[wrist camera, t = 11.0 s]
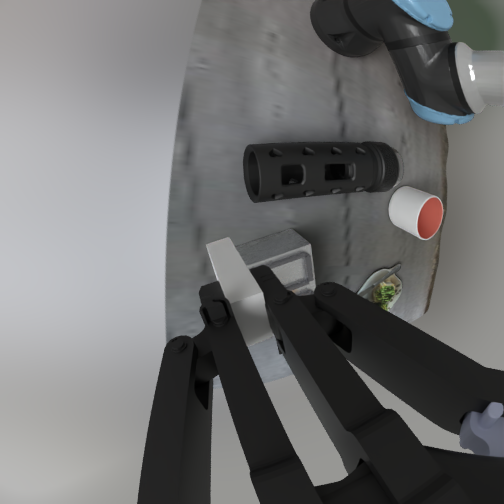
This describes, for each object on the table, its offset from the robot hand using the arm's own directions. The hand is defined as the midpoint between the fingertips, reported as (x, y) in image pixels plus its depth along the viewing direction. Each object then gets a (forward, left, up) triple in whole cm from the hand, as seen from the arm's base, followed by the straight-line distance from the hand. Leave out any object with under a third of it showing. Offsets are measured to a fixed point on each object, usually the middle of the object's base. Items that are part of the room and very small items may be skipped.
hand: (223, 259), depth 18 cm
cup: (-45, +17, -31) cm, 57 cm away
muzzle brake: (-23, +3, -31) cm, 39 cm away
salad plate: (-36, +41, -31) cm, 63 cm away
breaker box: (-9, +22, -30) cm, 39 cm away
